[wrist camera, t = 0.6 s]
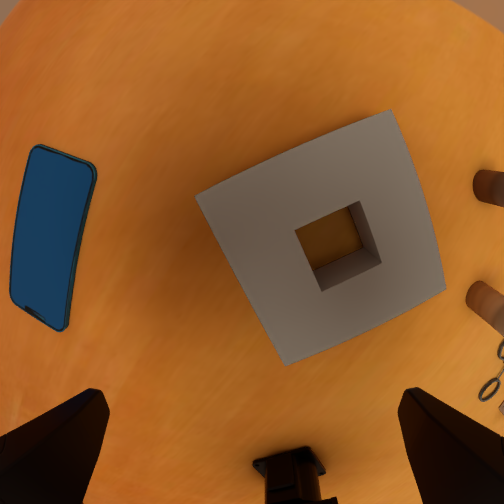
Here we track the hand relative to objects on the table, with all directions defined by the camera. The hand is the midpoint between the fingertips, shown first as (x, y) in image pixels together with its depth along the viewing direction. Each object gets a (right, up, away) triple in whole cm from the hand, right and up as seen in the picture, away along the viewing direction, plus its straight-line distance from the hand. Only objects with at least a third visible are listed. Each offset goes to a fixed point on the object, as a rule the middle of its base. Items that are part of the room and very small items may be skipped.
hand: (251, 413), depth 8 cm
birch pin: (+20, +1, +13) cm, 24 cm away
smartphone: (-17, +5, +14) cm, 22 cm away
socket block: (+5, +6, +12) cm, 14 cm away
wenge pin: (+18, +10, +11) cm, 24 cm away
